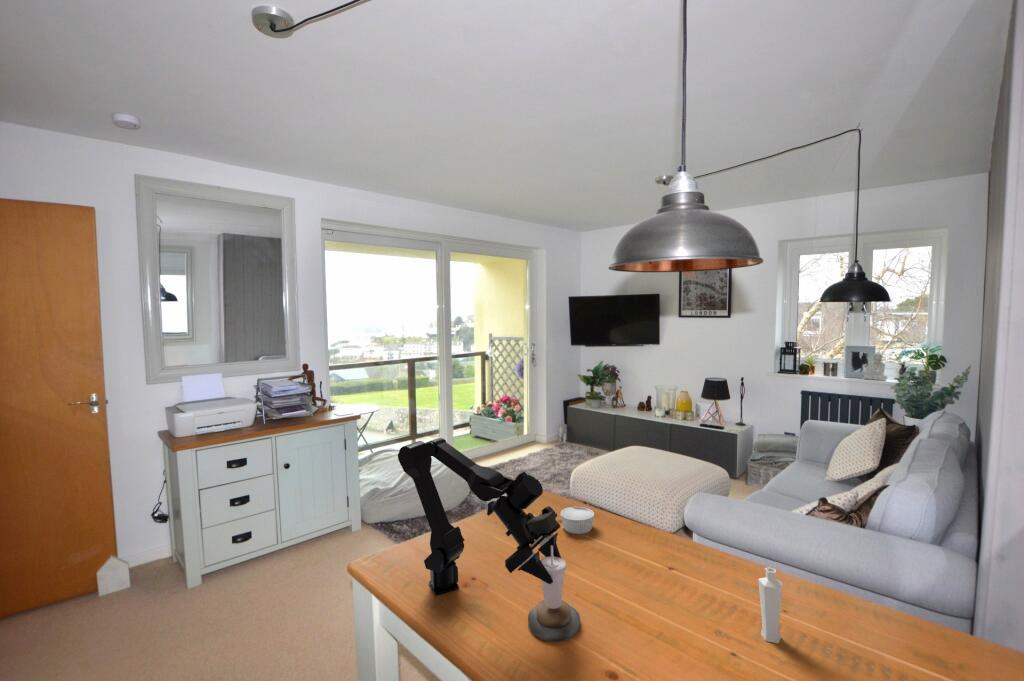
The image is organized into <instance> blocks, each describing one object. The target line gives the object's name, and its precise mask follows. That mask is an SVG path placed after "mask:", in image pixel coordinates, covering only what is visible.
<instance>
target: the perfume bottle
mask: <svg viewBox="0 0 1024 681" xmlns="http://www.w3.org/2000/svg"><path fill="white" fill-rule="evenodd" d="M764 570H765V577H760V578H758V589H759V600H760V611H761V612H760V613H761V623H762V624H761V625H762V628H761V630H760V635H761V637H762V638H763V639H764V641H766V642H768V643H775V644H780V641H781V634H780V618H781V608H782V607H781V606H782V605H781V604H782V595H783V594H782V593H783V582H782V581H781V580H779V579H777V577H776V576H777V575H776V573H777V569H775V568H772V567H764Z"/></svg>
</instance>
